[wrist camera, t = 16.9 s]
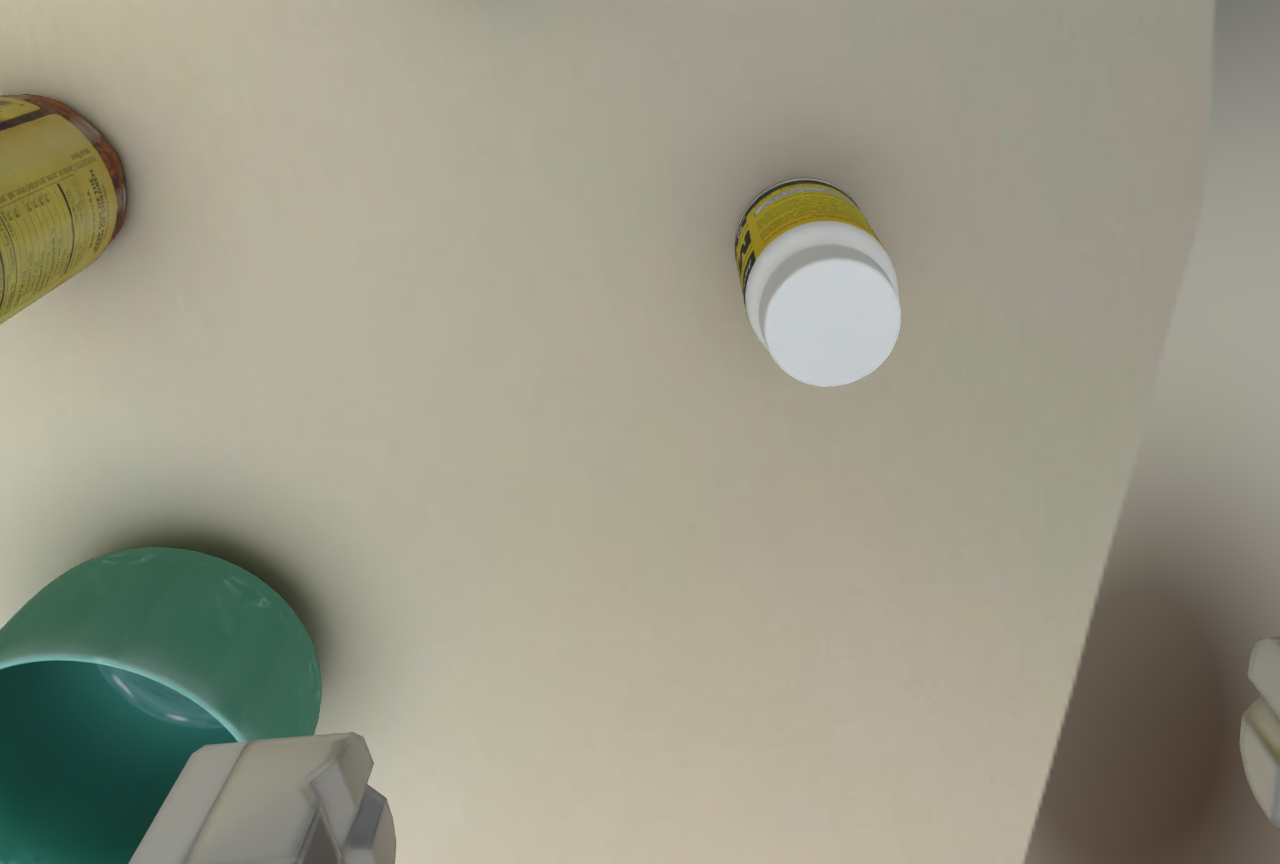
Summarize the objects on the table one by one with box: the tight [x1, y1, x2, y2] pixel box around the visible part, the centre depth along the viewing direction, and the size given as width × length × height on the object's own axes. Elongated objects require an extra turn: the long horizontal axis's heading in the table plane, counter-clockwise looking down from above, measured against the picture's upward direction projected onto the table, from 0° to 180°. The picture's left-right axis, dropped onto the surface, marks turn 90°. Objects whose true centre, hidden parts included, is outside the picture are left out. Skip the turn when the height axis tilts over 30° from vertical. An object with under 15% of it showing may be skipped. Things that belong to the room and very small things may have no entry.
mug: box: [0, 547, 321, 864], centre depth 42 cm, size 17×13×10 cm
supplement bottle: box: [735, 178, 901, 387], centre depth 33 cm, size 5×5×8 cm
